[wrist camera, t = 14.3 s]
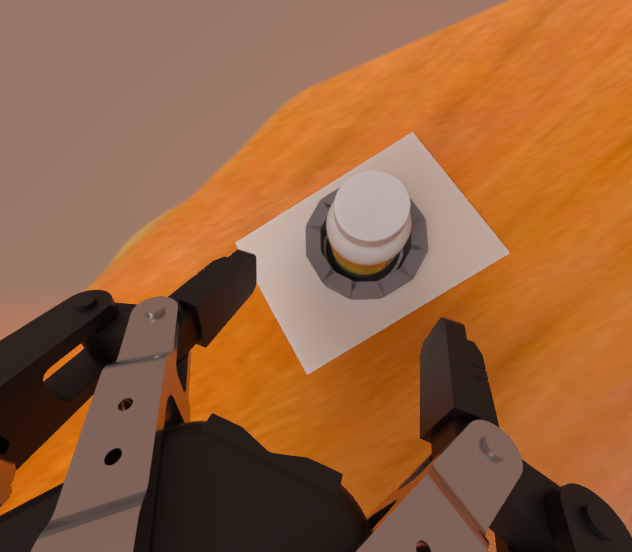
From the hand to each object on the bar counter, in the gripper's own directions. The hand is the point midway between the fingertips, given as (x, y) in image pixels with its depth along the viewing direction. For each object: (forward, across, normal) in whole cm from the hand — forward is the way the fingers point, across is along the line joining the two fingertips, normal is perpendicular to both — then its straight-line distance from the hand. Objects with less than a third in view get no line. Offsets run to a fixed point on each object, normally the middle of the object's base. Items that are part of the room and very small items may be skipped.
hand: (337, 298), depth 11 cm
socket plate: (+13, 0, +5) cm, 14 cm away
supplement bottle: (+12, 0, +4) cm, 13 cm away
